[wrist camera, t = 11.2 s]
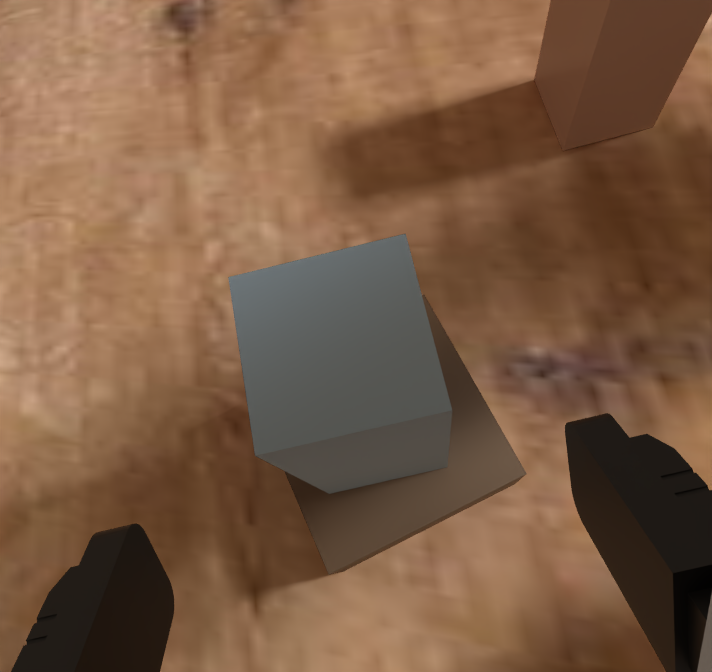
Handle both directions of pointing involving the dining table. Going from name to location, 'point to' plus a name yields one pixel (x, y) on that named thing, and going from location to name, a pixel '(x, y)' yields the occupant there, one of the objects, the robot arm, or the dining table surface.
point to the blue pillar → (342, 367)
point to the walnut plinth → (415, 478)
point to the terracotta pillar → (613, 63)
